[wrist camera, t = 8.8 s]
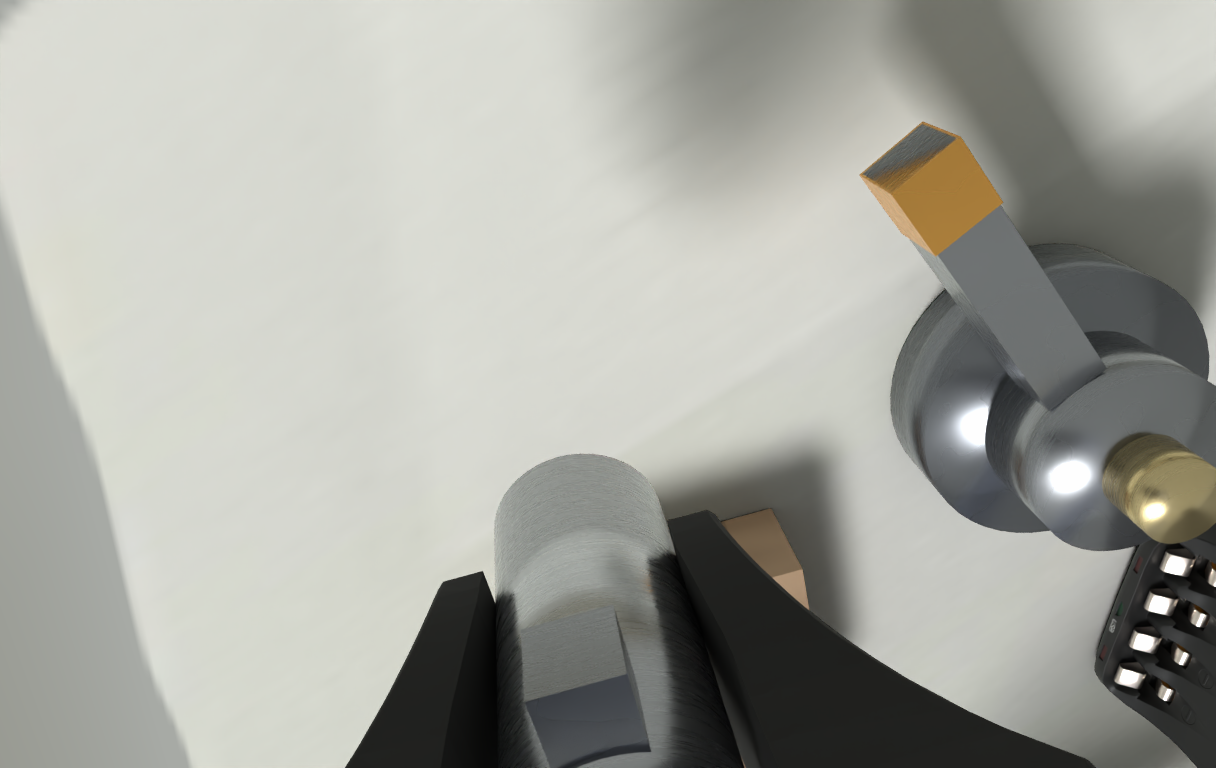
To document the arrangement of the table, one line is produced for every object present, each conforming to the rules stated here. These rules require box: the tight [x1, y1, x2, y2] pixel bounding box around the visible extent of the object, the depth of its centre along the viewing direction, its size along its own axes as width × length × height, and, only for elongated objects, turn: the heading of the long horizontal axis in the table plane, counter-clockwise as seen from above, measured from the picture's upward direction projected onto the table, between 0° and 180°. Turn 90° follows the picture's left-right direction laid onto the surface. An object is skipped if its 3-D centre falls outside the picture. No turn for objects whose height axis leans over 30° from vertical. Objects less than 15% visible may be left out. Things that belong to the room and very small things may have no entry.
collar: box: [860, 122, 1216, 551], centre depth 18 cm, size 4×11×2 cm, turn 41°
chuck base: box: [891, 244, 1216, 544], centre depth 20 cm, size 7×7×6 cm
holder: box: [671, 508, 809, 768], centre depth 24 cm, size 7×7×3 cm
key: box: [494, 454, 744, 768], centre depth 12 cm, size 5×3×6 cm, turn 14°
